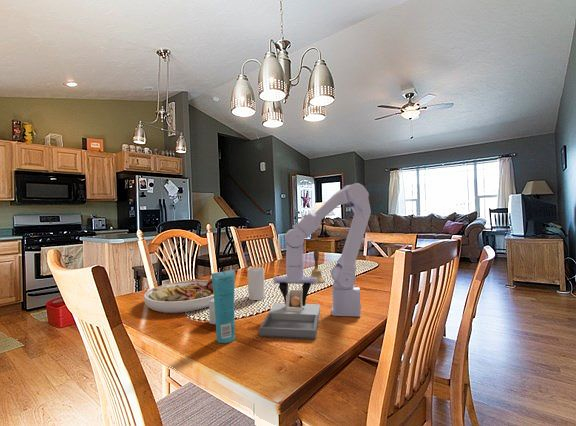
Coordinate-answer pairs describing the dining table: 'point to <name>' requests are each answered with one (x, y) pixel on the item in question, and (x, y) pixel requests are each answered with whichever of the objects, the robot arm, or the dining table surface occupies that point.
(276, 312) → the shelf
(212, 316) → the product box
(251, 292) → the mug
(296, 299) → the ball
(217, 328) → the tube
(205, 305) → the bowl
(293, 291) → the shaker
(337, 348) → the dining table surface
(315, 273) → the hand bell
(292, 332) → the tray
